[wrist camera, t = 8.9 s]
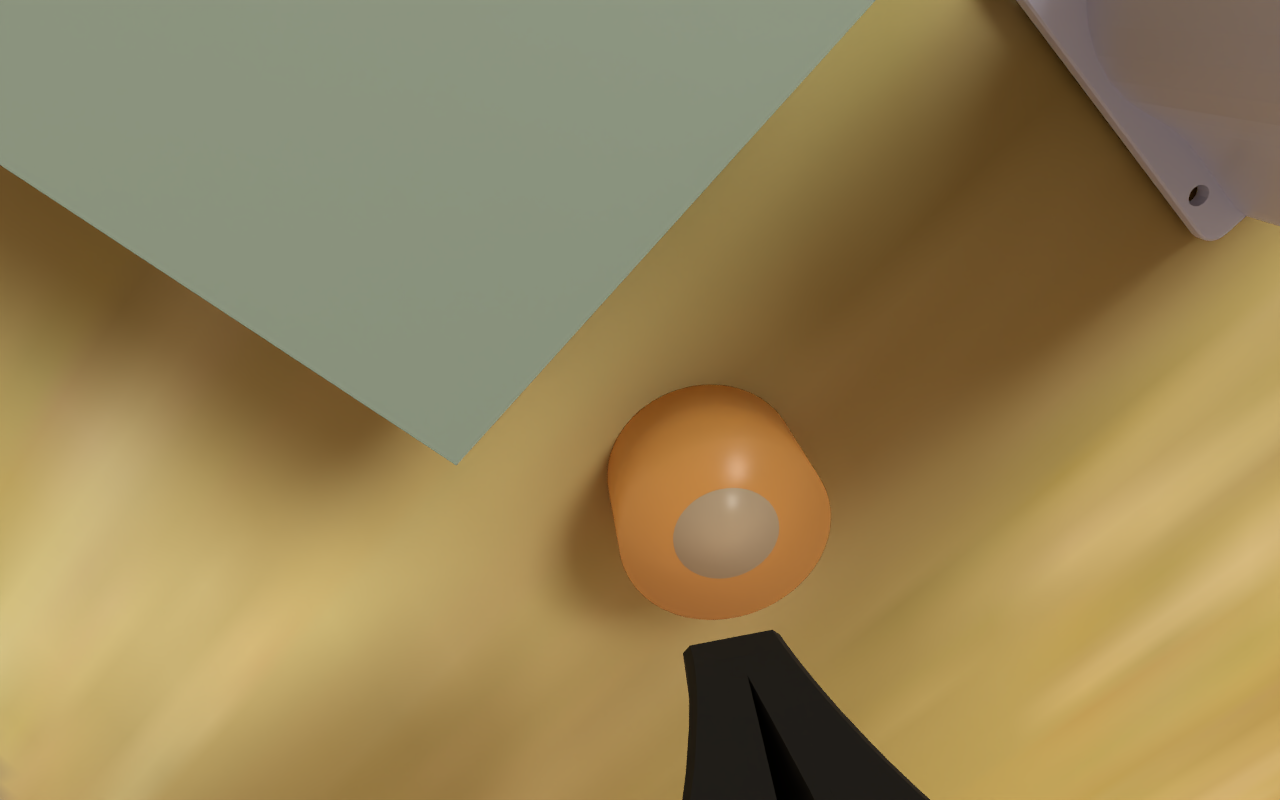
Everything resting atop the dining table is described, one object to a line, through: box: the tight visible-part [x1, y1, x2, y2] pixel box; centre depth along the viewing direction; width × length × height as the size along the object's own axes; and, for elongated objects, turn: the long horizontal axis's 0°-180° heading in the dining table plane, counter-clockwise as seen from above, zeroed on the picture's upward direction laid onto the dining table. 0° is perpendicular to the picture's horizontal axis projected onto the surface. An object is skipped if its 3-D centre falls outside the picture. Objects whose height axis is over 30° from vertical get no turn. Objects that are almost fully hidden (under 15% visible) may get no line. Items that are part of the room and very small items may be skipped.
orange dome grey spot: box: [607, 385, 831, 620], centre depth 21 cm, size 5×5×3 cm
